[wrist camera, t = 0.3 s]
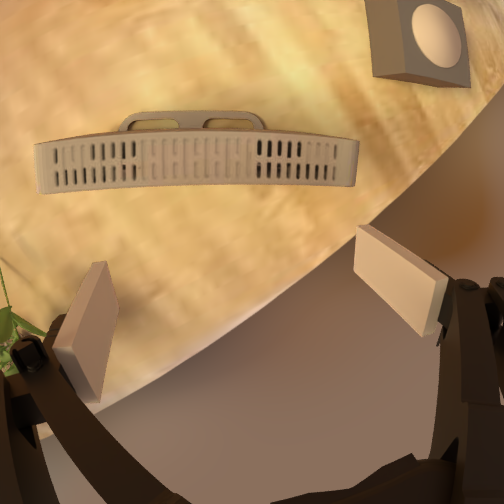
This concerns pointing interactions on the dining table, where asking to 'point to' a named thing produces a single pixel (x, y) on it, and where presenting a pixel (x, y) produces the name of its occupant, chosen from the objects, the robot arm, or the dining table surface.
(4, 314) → the plant cuttings
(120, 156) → the network device
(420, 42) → the plate
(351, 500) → the robot arm
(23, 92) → the dining table surface
